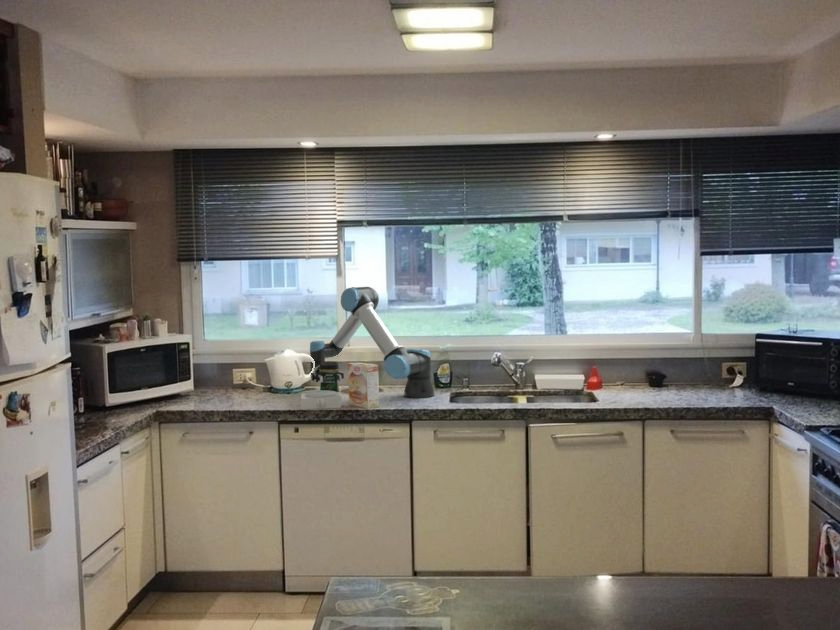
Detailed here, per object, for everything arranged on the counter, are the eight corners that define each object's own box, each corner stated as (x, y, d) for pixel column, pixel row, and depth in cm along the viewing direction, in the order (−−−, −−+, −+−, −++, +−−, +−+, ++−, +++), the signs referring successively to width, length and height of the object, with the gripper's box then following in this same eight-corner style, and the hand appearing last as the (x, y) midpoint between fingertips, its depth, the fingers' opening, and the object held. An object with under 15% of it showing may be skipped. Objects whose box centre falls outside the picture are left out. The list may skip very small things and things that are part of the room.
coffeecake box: (348, 404, 358) (347, 363, 356) (360, 402, 362) (359, 361, 361) (367, 408, 346) (366, 366, 345) (379, 406, 351) (378, 364, 350)
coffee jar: (318, 400, 370) (317, 362, 369) (321, 397, 378) (320, 360, 377) (338, 400, 370) (337, 362, 369) (340, 397, 378) (339, 360, 377)
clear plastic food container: (340, 402, 364) (339, 389, 364) (340, 408, 349) (340, 394, 348) (302, 403, 362) (301, 390, 362) (301, 409, 347) (300, 396, 346)
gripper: (342, 379, 394) (353, 385, 373) (301, 382, 387) (309, 388, 366) (341, 364, 394) (352, 369, 373) (300, 367, 387) (309, 372, 366)
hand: (331, 378), depth 369 cm, fingers closed on coffee jar, 9 cm apart
